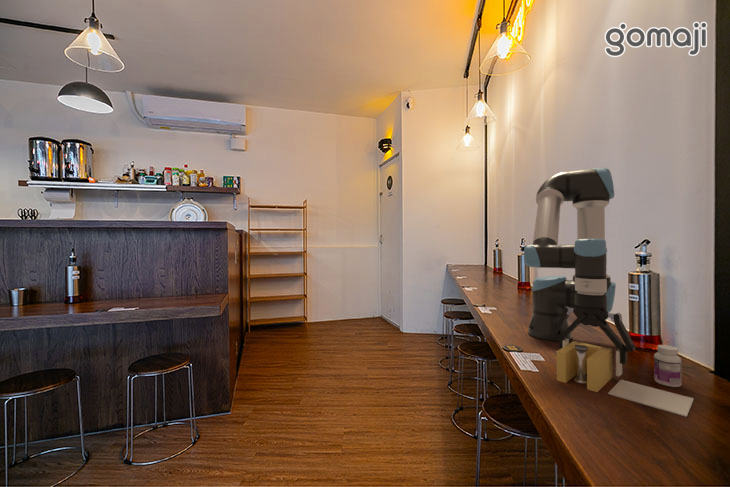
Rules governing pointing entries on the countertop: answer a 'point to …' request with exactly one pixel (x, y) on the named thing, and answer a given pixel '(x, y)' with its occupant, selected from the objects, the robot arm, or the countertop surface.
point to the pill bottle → (667, 366)
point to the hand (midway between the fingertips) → (591, 367)
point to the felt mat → (653, 397)
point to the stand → (581, 364)
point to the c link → (595, 364)
